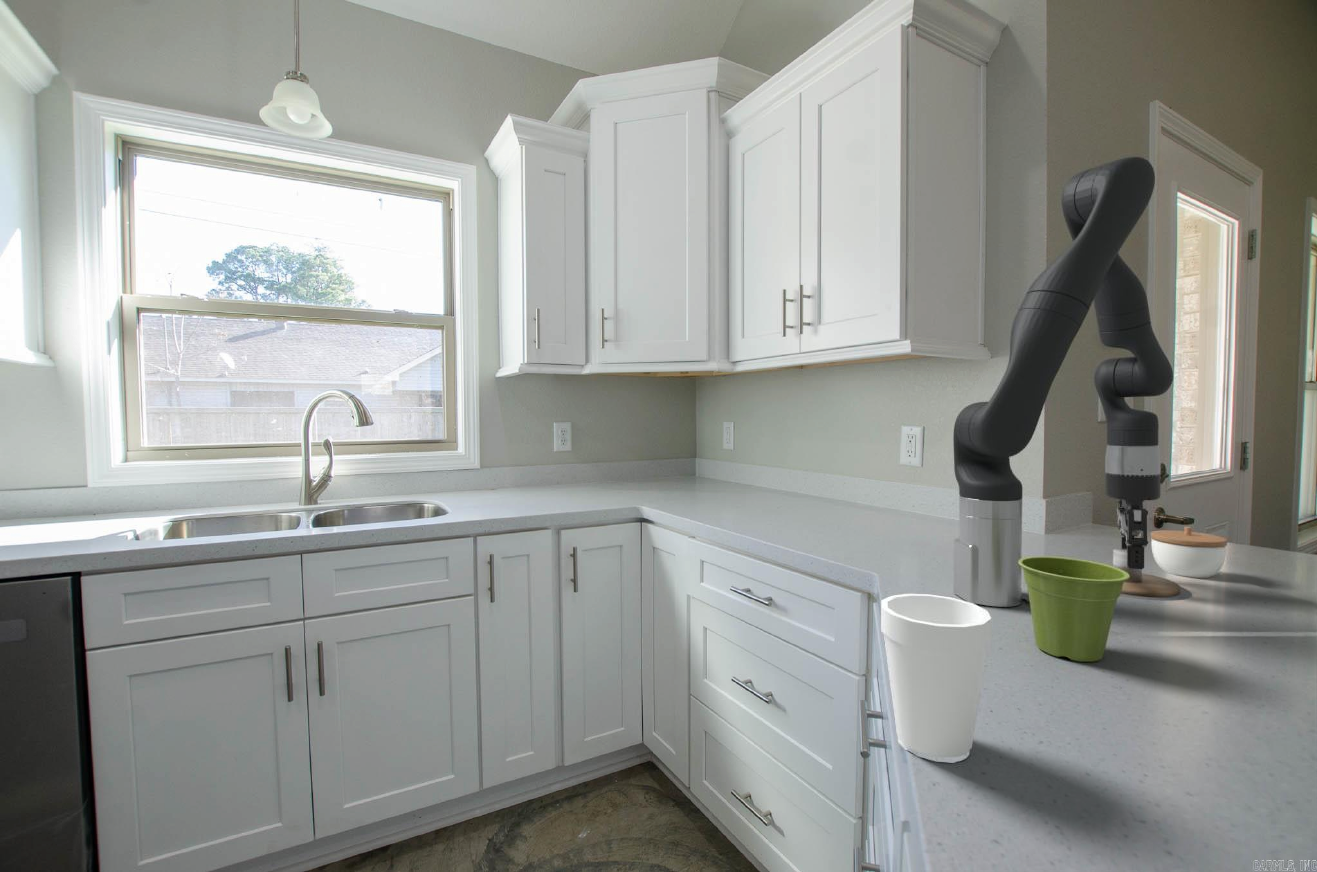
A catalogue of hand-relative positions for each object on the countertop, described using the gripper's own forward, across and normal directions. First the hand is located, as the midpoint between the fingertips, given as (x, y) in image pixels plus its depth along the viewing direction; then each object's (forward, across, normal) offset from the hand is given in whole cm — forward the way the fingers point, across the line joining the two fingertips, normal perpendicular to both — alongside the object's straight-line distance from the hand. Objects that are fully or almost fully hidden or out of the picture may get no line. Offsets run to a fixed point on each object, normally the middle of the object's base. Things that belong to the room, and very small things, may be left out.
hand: (1132, 562), depth 103 cm
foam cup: (+4, -71, +22) cm, 75 cm away
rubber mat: (+5, 0, +1) cm, 5 cm away
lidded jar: (+5, +16, -10) cm, 19 cm away
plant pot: (+4, -38, +10) cm, 40 cm away
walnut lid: (+4, 0, +1) cm, 4 cm away
